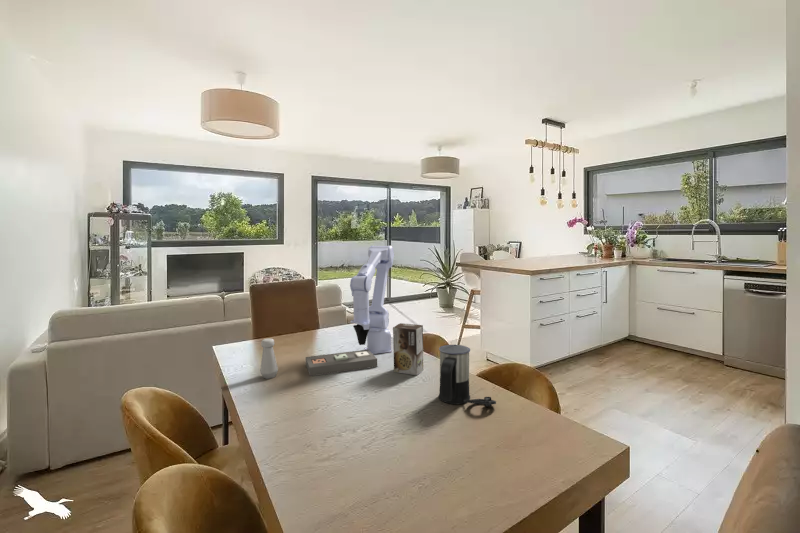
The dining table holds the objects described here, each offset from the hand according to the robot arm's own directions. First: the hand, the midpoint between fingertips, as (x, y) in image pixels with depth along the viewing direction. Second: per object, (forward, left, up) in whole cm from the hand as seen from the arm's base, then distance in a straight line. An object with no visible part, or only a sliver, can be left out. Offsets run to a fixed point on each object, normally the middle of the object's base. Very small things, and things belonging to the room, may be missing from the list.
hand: (362, 344), depth 144 cm
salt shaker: (+33, +1, -7) cm, 34 cm away
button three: (+16, 0, -7) cm, 17 cm away
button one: (0, 0, -6) cm, 6 cm away
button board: (+8, 0, -7) cm, 11 cm away
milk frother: (-19, +43, -7) cm, 48 cm away
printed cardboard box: (-13, +14, -7) cm, 20 cm away
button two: (+8, 0, -6) cm, 10 cm away
